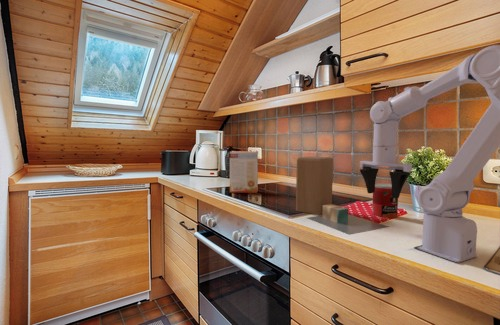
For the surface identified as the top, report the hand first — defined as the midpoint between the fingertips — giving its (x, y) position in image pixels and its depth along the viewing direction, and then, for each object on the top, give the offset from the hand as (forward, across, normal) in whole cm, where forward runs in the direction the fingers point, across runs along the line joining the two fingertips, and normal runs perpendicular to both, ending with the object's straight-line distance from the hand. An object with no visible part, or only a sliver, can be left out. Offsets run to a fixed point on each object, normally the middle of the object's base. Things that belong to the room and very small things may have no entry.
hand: (382, 195), depth 76 cm
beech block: (+8, +10, +5) cm, 13 cm away
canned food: (+11, +10, -15) cm, 21 cm away
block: (+11, +26, +2) cm, 28 cm away
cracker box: (+11, +75, +6) cm, 76 cm away
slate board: (+10, +10, +4) cm, 15 cm away
